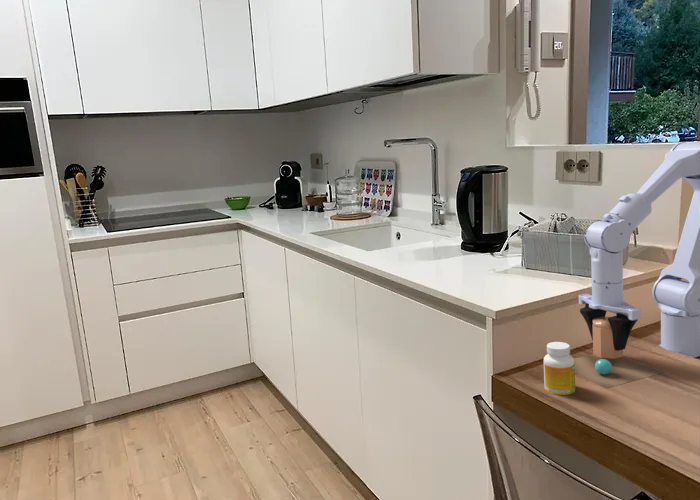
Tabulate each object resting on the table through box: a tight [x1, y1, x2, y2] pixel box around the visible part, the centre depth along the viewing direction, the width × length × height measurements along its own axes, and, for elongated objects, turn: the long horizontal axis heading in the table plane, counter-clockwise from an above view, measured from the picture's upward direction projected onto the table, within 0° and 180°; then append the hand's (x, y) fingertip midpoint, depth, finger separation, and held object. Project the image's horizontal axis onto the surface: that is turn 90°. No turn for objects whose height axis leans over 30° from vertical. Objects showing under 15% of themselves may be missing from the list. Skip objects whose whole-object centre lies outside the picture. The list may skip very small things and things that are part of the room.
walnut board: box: [573, 353, 666, 389], centre depth 107 cm, size 14×14×1 cm
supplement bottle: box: [543, 341, 576, 396], centre depth 99 cm, size 5×5×10 cm
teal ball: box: [595, 359, 612, 375], centre depth 104 cm, size 3×3×3 cm
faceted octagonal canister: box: [592, 316, 624, 359], centre depth 110 cm, size 6×6×7 cm
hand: (608, 344), depth 110 cm, fingers closed on faceted octagonal canister, 5 cm apart
